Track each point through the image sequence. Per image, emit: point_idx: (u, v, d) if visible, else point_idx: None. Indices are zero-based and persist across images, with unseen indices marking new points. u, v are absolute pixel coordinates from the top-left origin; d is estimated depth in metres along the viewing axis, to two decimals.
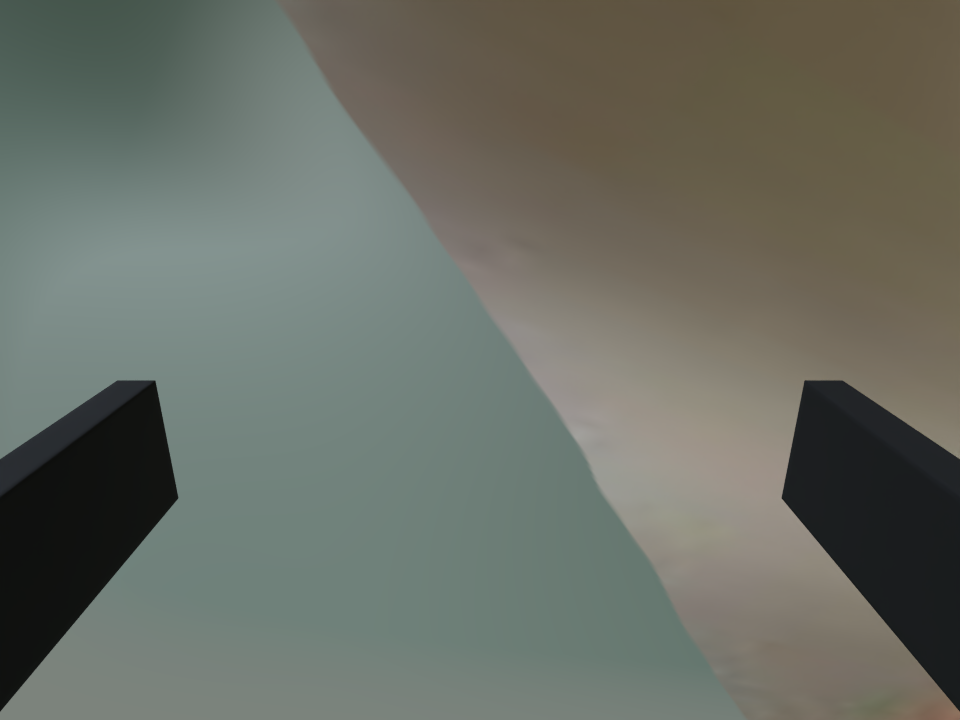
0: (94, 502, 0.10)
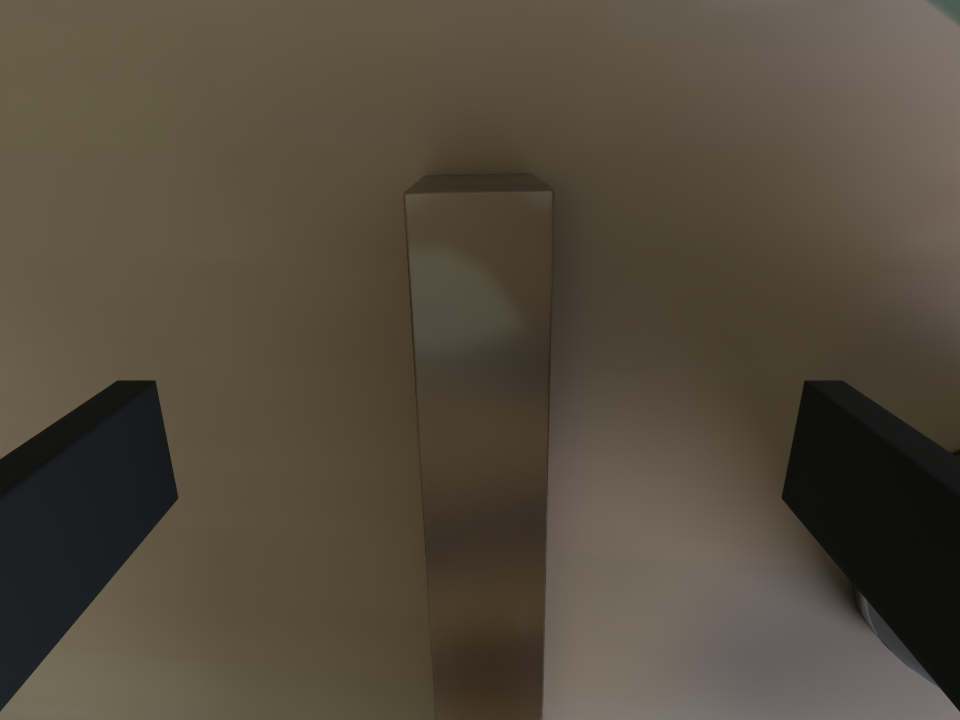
0: (94, 502, 0.10)
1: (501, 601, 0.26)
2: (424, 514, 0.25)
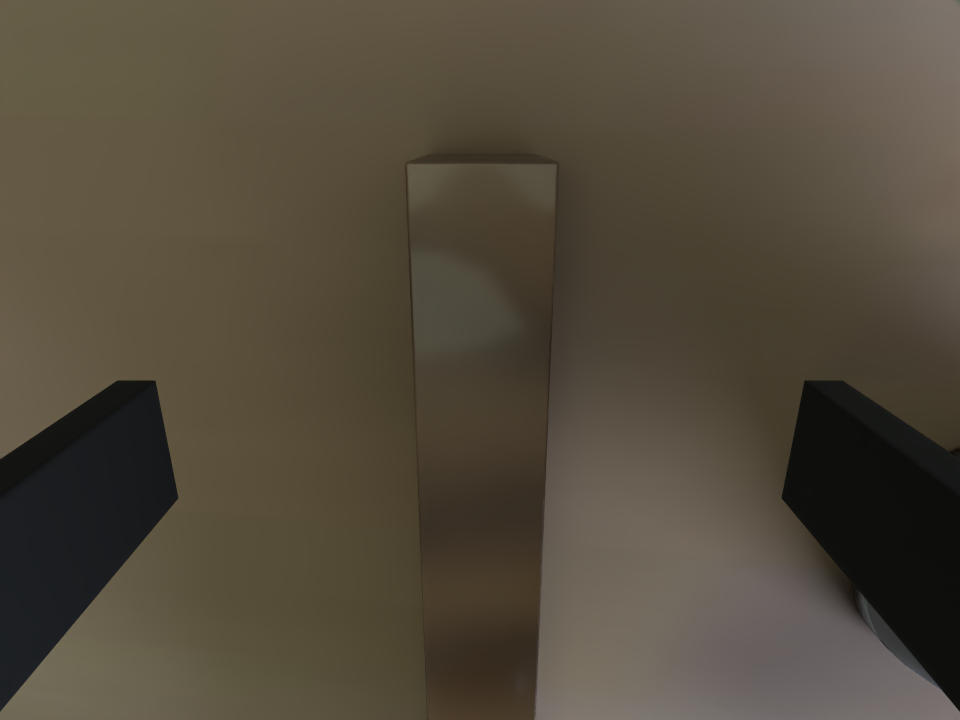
0: (94, 502, 0.10)
1: (495, 587, 0.26)
2: (419, 495, 0.24)
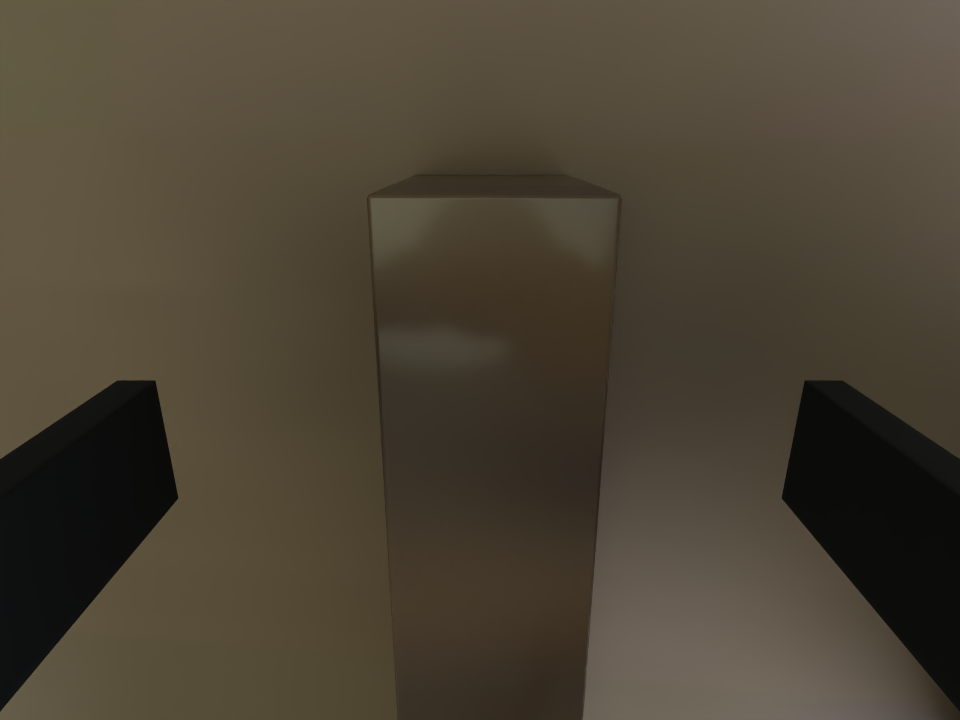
0: (94, 502, 0.10)
1: None
2: (397, 686, 0.16)
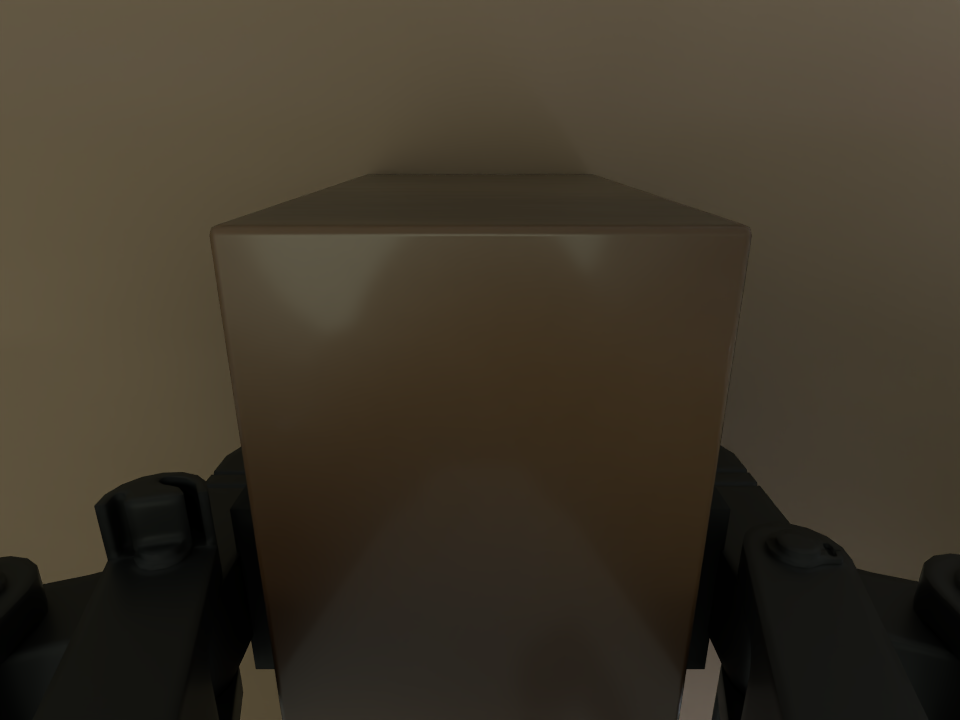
0: None
1: None
2: None
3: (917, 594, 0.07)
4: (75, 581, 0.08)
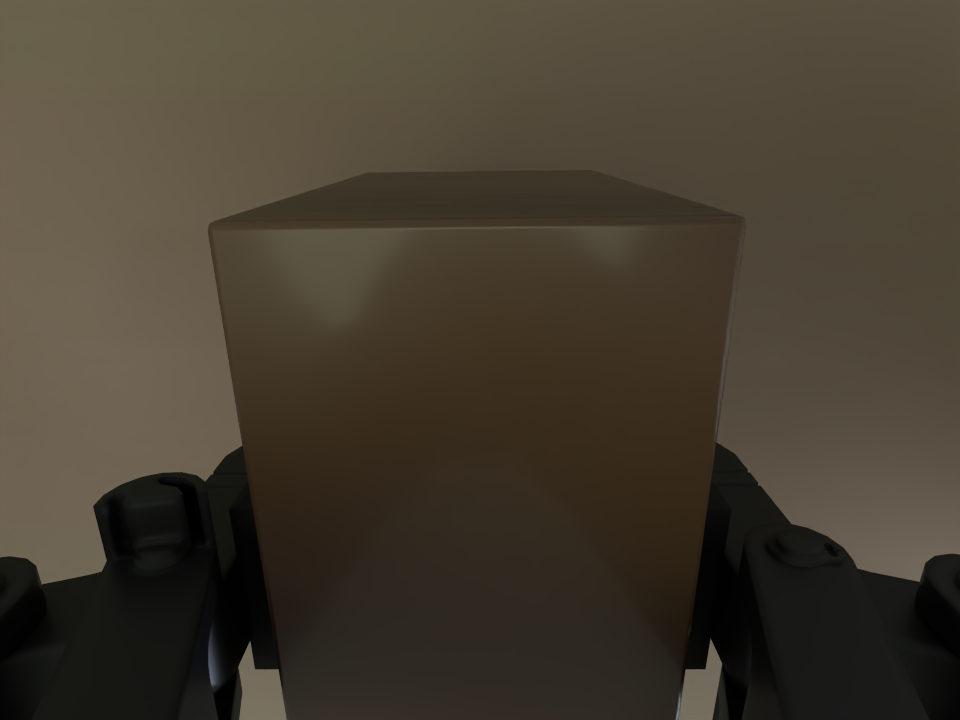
0: None
1: None
2: None
3: (918, 594, 0.07)
4: (74, 581, 0.08)
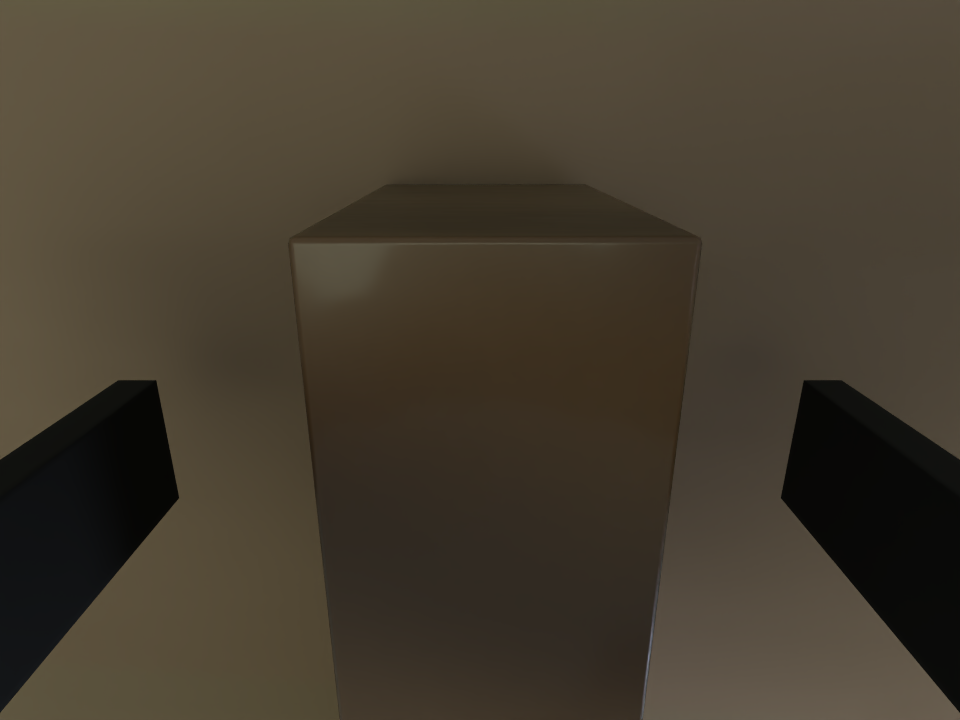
0: (95, 501, 0.10)
1: None
2: None
3: None
4: None
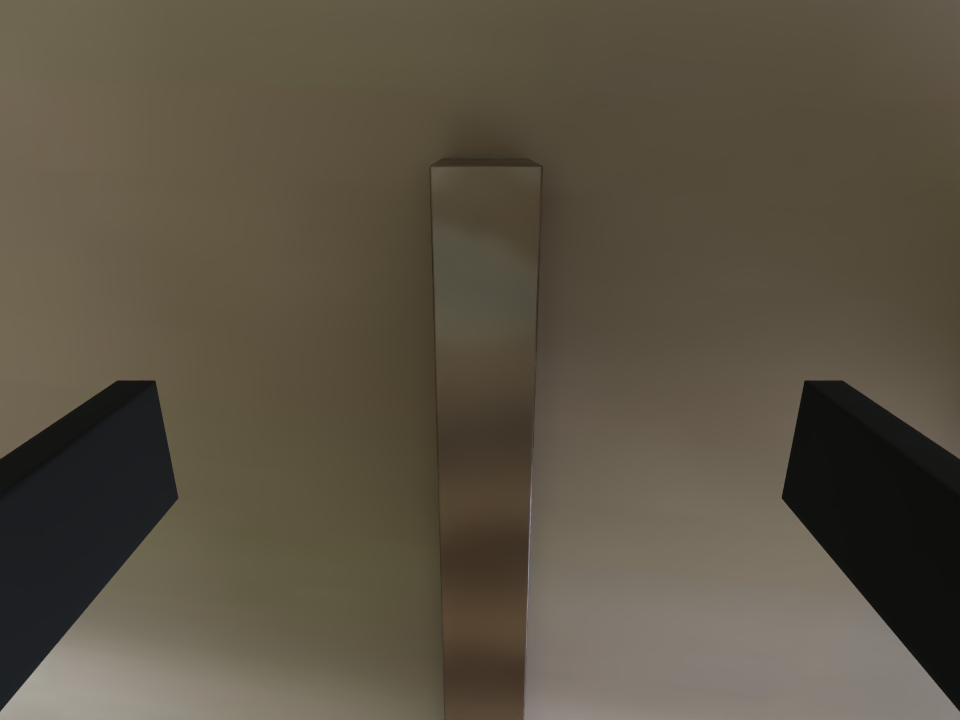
0: (94, 502, 0.10)
1: (496, 497, 0.33)
2: (437, 422, 0.31)
3: None
4: None
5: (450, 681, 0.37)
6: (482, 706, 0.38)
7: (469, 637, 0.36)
